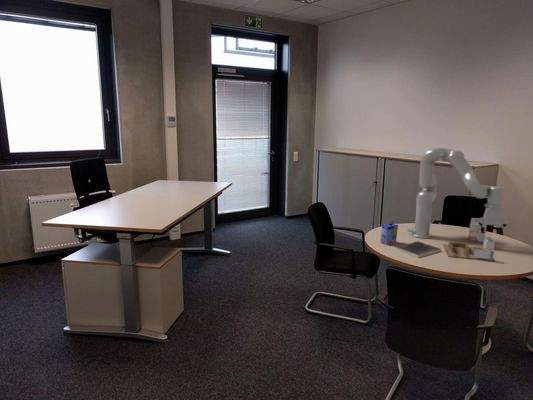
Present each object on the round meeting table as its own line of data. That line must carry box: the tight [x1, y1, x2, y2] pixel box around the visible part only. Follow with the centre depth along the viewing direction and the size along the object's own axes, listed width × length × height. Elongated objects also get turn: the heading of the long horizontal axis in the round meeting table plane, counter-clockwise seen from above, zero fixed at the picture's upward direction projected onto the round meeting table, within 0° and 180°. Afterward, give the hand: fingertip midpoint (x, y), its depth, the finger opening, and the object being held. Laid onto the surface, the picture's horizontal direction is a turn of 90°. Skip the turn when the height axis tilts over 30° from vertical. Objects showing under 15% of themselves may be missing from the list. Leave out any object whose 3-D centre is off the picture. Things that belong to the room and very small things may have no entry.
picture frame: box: [395, 241, 442, 258], centre depth 239 cm, size 16×2×22 cm
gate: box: [473, 249, 495, 260], centre depth 222 cm, size 10×2×5 cm, turn 74°
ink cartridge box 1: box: [380, 221, 399, 246], centre depth 251 cm, size 10×6×14 cm, turn 123°
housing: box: [442, 241, 495, 262], centre depth 234 cm, size 24×22×5 cm
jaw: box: [482, 236, 496, 251], centre depth 244 cm, size 4×7×6 cm, turn 164°
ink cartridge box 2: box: [467, 217, 488, 243], centre depth 258 cm, size 9×5×15 cm, turn 84°
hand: (491, 233), depth 243 cm, fingers open, 9 cm apart
